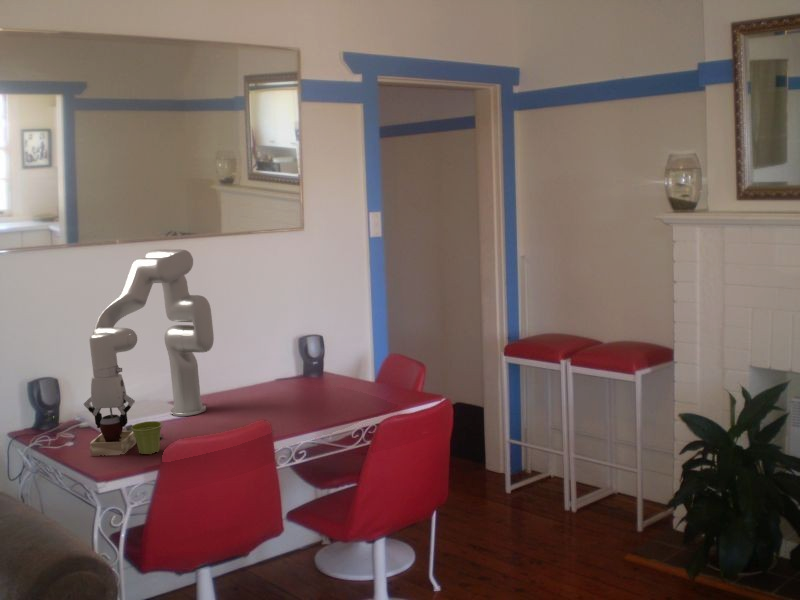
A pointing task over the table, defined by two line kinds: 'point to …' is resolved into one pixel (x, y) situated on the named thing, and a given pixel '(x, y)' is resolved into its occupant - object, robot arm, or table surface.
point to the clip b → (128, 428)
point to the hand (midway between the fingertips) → (111, 425)
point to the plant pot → (147, 436)
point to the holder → (112, 445)
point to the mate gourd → (111, 427)
